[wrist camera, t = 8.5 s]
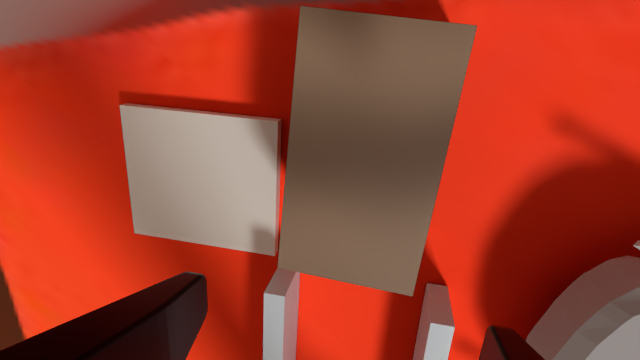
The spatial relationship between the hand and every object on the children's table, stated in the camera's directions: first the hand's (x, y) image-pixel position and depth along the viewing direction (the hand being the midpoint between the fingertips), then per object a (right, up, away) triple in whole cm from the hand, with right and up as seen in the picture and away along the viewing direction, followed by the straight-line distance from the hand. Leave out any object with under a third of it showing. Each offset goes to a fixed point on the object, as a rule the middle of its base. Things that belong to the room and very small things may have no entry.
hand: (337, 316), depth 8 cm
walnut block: (+2, +5, +10) cm, 11 cm away
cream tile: (-6, +3, +12) cm, 14 cm away
